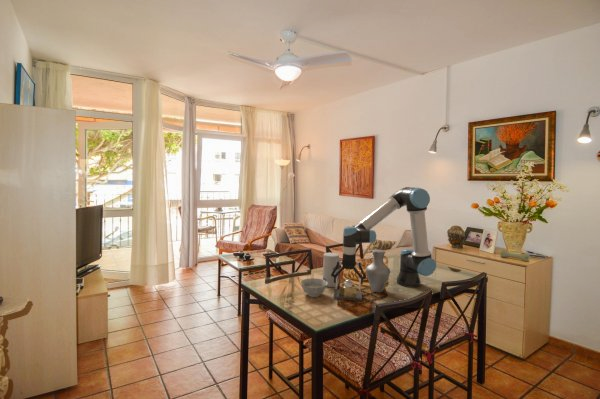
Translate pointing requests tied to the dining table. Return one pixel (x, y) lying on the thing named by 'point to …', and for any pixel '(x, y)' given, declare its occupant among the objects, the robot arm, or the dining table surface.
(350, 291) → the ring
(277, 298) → the dining table surface
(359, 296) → the piston block
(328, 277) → the container
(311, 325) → the dining table surface
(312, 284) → the bowl
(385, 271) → the vase
